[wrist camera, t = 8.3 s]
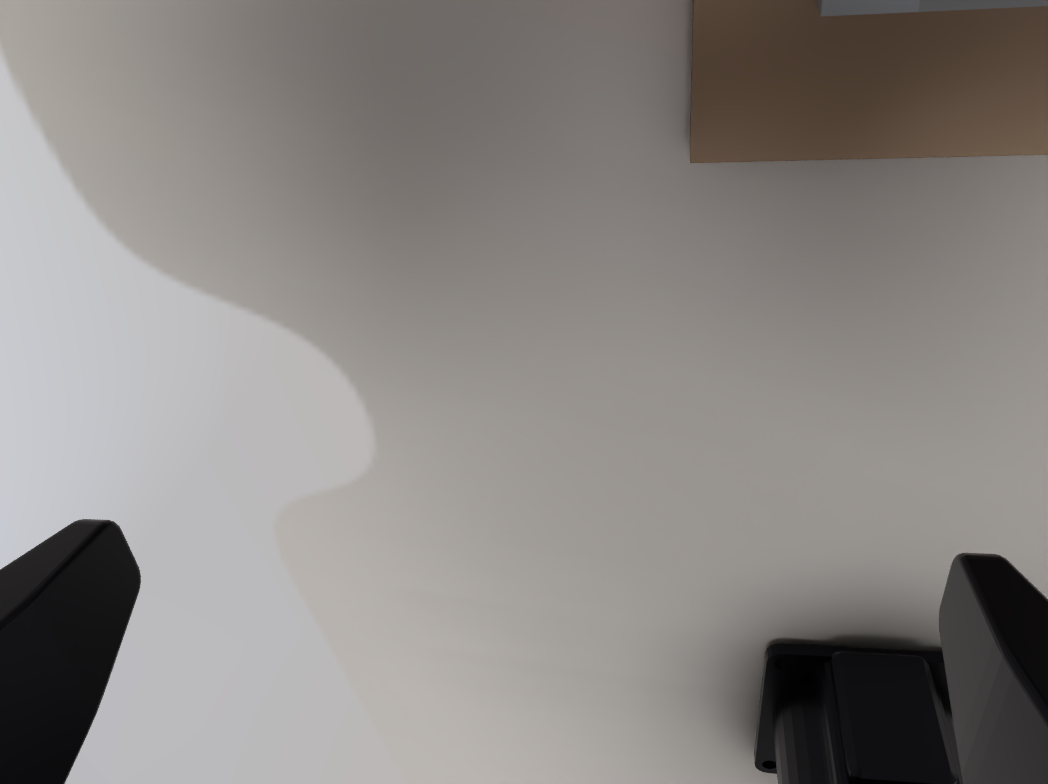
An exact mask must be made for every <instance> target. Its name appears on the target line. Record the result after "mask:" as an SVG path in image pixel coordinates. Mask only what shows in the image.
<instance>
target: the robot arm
mask: <svg viewBox="0 0 1048 784" xmlns="http://www.w3.org/2000/svg"><path fill="white" fill-rule="evenodd" d="M140 577H141V576H140V570H139V567H138V565H137V563H136V560H135V558H134V556H133V554H132V552H131V550H130V547H129V546H128V543H127V541H126V539H125V537H124V535H123V532H122V530H121V529H120V527H119V526H118V525H117V524H116V523H115V522H113V521H110V520H91V519H82V520H78V521H75V522H73V523H71V524H70V525H68V526H67V527H65V528H64V529H62V530H61V531H59V532H58V533H56V534H55V535H53V536H52V537H50V538H48V539H47V540H45V541H44V542H42V543H41V544H39V545H38V546H36V547H35V548H33V549H31V550H30V551H28V552H27V553H25V554H24V555H22V556H21V557H19V558H18V559H16V560H14V561H13V562H11V563H10V564H8V565H7V566H5V567H4V568H2V569H1V570H0V784H64V783H65V781H66V779H67V777H68V775H69V772H70V771H71V768H72V766H73V764H74V762H75V759H76V757H77V755H78V753H79V751H80V749H81V747H82V745H83V742H84V740H85V738H86V736H87V734H88V732H89V729H90V727H91V725H92V722H93V720H94V718H95V715H96V713H97V710H98V708H99V705H100V703H101V700H102V697H103V695H104V692H105V689H106V686H107V683H108V681H109V678H110V674H111V672H112V669H113V666H114V663H115V660H116V657H117V654H118V651H119V648H120V645H121V643H122V640H123V637H124V634H125V631H126V628H127V625H128V622H129V619H130V616H131V613H132V610H133V608H134V605H135V602H136V599H137V596H138V593H139V589H140V583H141V578H140ZM939 631H940V638H941V644H942V651H943V652H927V651H909V650H891V649H873V648H855V647H837V646H818V645H800V644H775V645H772V646H770V647H769V648H768V649H767V650H766V653H765V661H764V670H763V679H762V688H761V697H760V706H759V715H758V724H757V733H756V742H755V751H754V757H755V766H756V768H757V769H758V770H760V771H762V772H766V773H776V774H777V777H778V784H1048V599H1047V598H1046V597H1045V596H1044V595H1043V594H1042V593H1041V592H1040V591H1039V590H1038V589H1037V588H1036V587H1035V586H1034V585H1033V584H1032V583H1031V582H1029V581H1028V580H1027V579H1026V578H1025V577H1024V576H1023V575H1022V574H1021V573H1020V572H1019V571H1018V570H1017V569H1016V568H1015V567H1014V566H1013V565H1012V564H1011V563H1010V562H1009V561H1008V560H1006V559H1005V558H1003V557H1002V556H1000V555H996V554H977V553H961V554H958V555H957V556H956V557H955V558H954V560H953V562H952V565H951V568H950V572H949V576H948V579H947V583H946V587H945V591H944V594H943V598H942V602H941V605H940V611H939Z"/></svg>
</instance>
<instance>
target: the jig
mask: <svg viewBox="0 0 1048 784" xmlns="http://www.w3.org/2000/svg"><path fill="white" fill-rule="evenodd" d="M1008 155H1048V0H693V36H692V77H691V117H690V163H710V162H752V161H795V160H838V159H880V158H923V157H966V156H1008Z"/></svg>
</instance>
